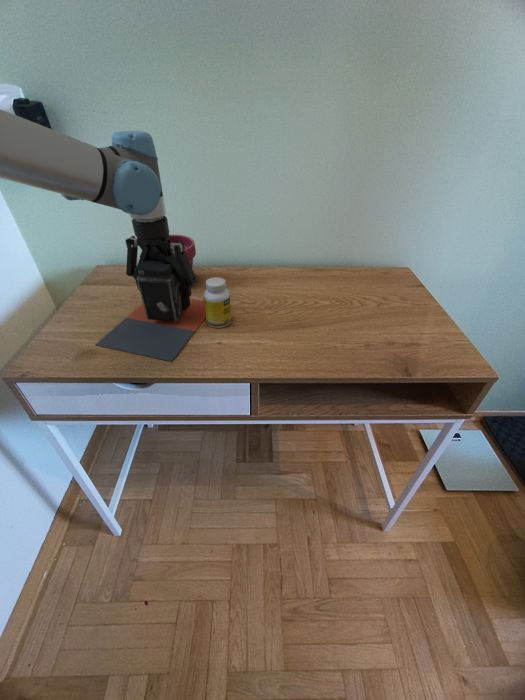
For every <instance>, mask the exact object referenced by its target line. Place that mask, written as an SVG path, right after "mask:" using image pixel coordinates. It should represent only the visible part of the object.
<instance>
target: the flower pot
mask: <svg viewBox="0 0 525 700" xmlns="http://www.w3.org/2000/svg"><path fill="white" fill-rule="evenodd" d="M169 238H170V240H171V242H172V243H179V242H182V243H183V244H184V250H185V254H186V256H187V258H188V260H189V263H190V265H191V267H192V269H193V267H194V258H195V257H196V255H197V251H196V243H195V240H194V239H193V238H191V237H190V236H187V235H183V234H169ZM171 251H172V253H173V250H172V249H171ZM173 254H174V255H175V253H173Z"/></svg>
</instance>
